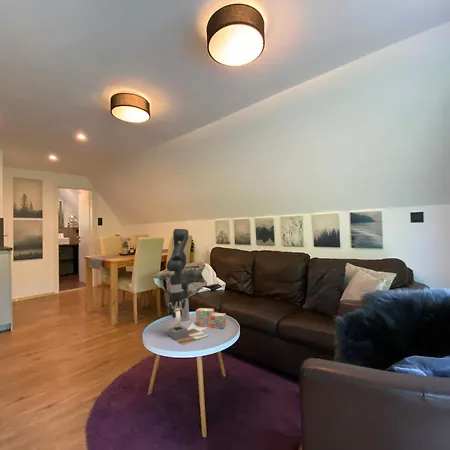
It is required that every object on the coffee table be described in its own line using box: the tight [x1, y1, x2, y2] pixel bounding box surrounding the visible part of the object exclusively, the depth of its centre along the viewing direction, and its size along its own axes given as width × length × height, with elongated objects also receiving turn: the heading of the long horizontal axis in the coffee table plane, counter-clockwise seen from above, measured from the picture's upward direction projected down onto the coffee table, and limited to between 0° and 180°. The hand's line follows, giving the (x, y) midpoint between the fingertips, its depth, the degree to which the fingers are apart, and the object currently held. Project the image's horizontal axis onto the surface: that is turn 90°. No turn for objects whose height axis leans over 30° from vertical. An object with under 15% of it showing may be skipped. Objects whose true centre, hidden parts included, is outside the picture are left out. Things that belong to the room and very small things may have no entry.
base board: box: [167, 327, 210, 346], centre depth 185 cm, size 20×20×2 cm
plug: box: [174, 307, 182, 327], centre depth 185 cm, size 4×4×12 cm
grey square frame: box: [168, 325, 189, 341], centre depth 185 cm, size 9×9×5 cm
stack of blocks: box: [195, 307, 227, 330], centre depth 205 cm, size 21×6×12 cm, turn 69°
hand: (177, 316), depth 185 cm, fingers closed on plug, 4 cm apart
